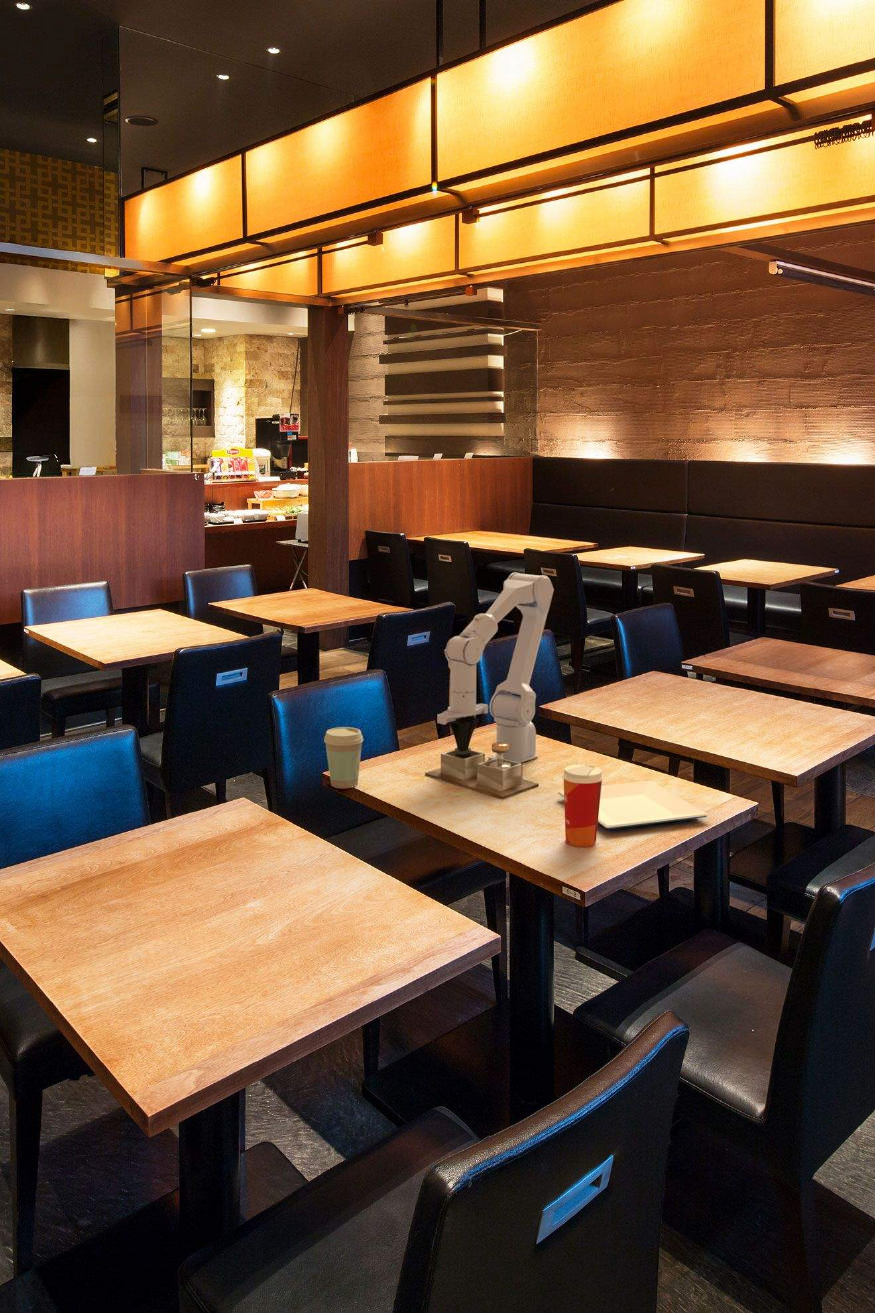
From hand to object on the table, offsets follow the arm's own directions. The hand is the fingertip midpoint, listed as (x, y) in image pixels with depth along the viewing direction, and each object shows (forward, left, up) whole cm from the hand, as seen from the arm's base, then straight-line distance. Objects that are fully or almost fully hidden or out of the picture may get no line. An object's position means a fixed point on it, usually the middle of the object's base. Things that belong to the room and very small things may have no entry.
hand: (462, 749), depth 227 cm
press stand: (0, +6, -6) cm, 8 cm away
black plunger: (0, 0, -5) cm, 5 cm away
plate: (-7, +40, -6) cm, 41 cm away
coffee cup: (+23, -14, -6) cm, 28 cm away
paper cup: (+14, +43, -6) cm, 46 cm away
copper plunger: (0, +11, -2) cm, 11 cm away
